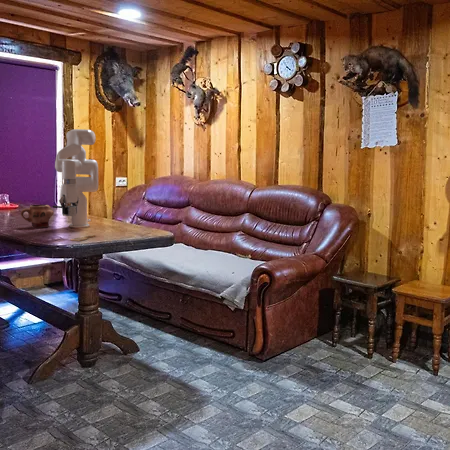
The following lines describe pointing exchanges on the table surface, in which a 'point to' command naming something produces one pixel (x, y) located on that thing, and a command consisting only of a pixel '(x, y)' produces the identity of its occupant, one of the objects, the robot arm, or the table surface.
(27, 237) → the table surface
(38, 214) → the brown ceramic pot
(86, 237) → the spatula
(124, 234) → the table surface
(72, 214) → the saucepan
